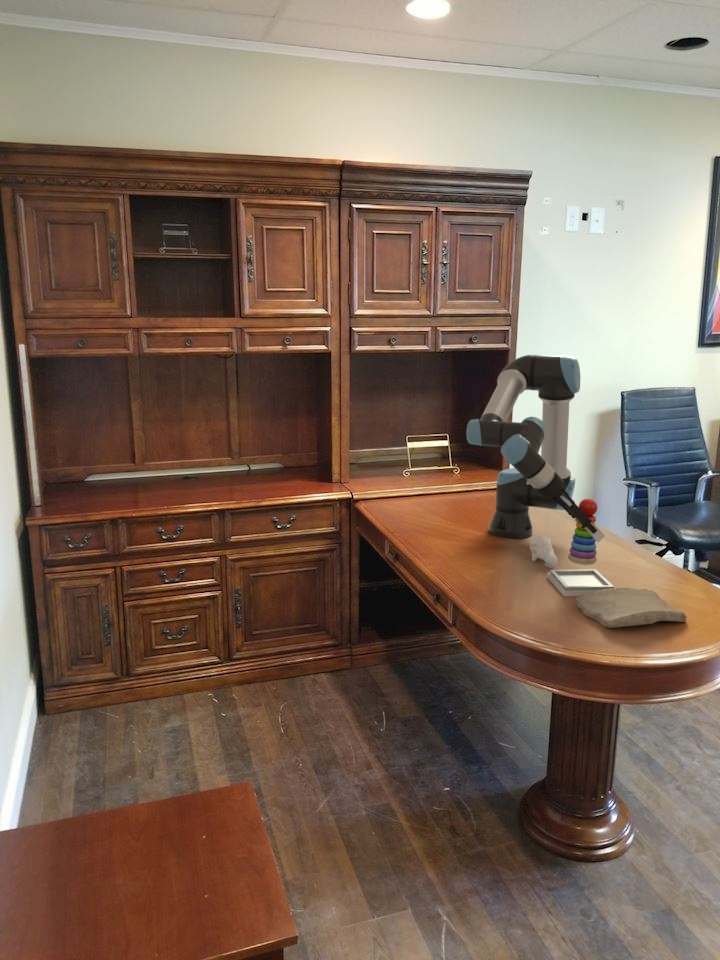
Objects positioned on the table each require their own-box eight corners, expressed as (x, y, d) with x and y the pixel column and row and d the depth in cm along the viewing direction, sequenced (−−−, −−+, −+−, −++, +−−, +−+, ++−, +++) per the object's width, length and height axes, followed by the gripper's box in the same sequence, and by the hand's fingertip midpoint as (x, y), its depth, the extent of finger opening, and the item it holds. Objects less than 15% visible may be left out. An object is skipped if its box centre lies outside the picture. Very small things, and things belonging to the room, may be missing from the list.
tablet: (695, 632, 189) (649, 595, 208) (700, 606, 187) (653, 571, 205) (610, 644, 184) (570, 606, 203) (613, 618, 182) (573, 581, 200)
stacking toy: (567, 564, 212) (572, 500, 208) (568, 555, 219) (573, 494, 215) (596, 567, 210) (602, 503, 206) (596, 558, 217) (601, 496, 213)
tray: (547, 577, 223) (548, 569, 223) (595, 576, 224) (596, 568, 224) (564, 596, 209) (564, 588, 208) (615, 595, 210) (616, 587, 209)
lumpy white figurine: (547, 531, 239) (565, 546, 228) (544, 555, 242) (562, 571, 231) (529, 532, 238) (546, 547, 227) (526, 557, 241) (543, 573, 230)
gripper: (525, 481, 217) (575, 534, 222) (545, 498, 199) (599, 555, 204) (544, 464, 217) (594, 517, 222) (566, 478, 198) (620, 536, 203)
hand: (596, 535), depth 213 cm, fingers closed on stacking toy, 6 cm apart
